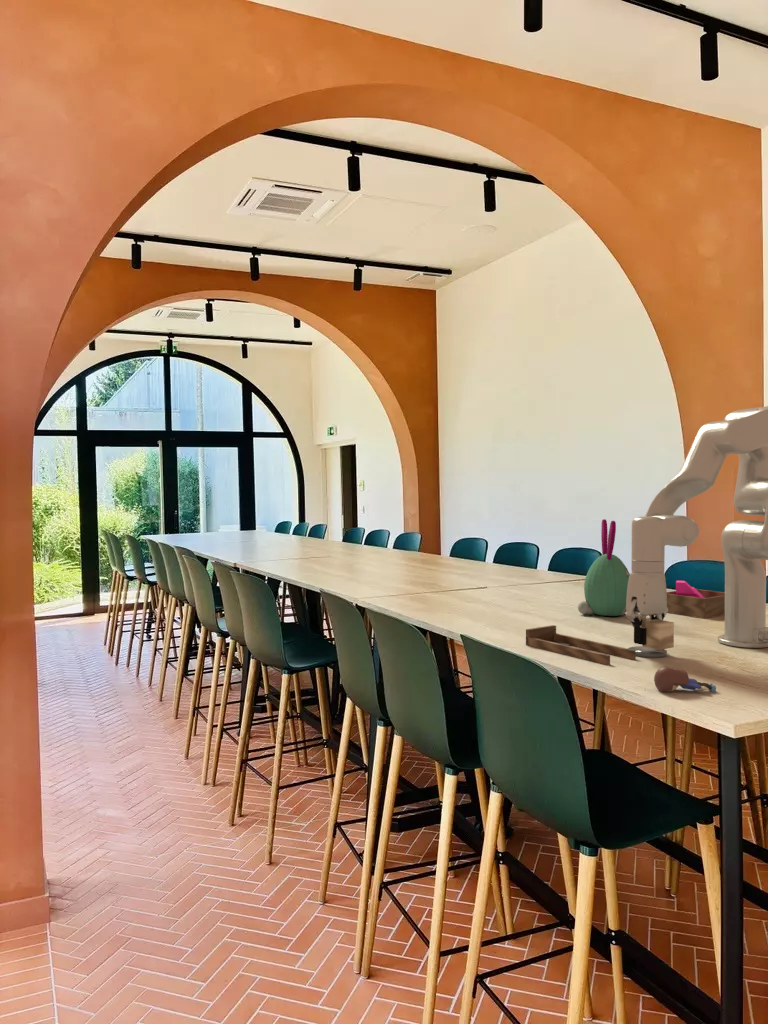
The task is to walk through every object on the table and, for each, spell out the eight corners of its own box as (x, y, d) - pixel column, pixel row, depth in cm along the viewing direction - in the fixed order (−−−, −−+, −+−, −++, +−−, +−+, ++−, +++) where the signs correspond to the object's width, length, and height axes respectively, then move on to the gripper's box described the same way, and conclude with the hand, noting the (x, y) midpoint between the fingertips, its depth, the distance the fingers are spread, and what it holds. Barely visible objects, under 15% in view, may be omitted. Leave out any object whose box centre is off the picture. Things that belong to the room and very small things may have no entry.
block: (673, 647, 176) (673, 622, 176) (660, 649, 173) (660, 624, 173) (655, 643, 180) (656, 619, 180) (642, 646, 177) (642, 621, 177)
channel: (635, 658, 174) (635, 641, 174) (607, 664, 168) (607, 647, 168) (553, 640, 195) (553, 625, 195) (525, 644, 190) (525, 629, 190)
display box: (736, 612, 236) (736, 594, 236) (703, 618, 226) (704, 598, 226) (692, 606, 249) (692, 588, 248) (660, 611, 239) (660, 592, 239)
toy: (639, 619, 226) (639, 521, 225) (583, 618, 226) (583, 521, 226) (625, 610, 241) (625, 518, 240) (573, 610, 241) (573, 519, 240)
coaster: (674, 654, 178) (675, 651, 178) (651, 659, 173) (651, 656, 173) (643, 647, 185) (643, 644, 185) (619, 652, 180) (619, 649, 180)
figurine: (706, 696, 149) (648, 687, 149) (710, 671, 149) (652, 662, 149) (718, 704, 144) (657, 694, 144) (722, 678, 144) (661, 668, 144)
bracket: (675, 614, 236) (675, 582, 236) (677, 609, 245) (677, 578, 245) (716, 616, 231) (717, 584, 231) (716, 611, 240) (717, 580, 240)
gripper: (656, 564, 186) (656, 635, 187) (612, 568, 177) (611, 644, 178) (683, 566, 180) (682, 640, 181) (638, 571, 171) (637, 649, 171)
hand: (647, 641), depth 179 cm, fingers closed on block, 4 cm apart
